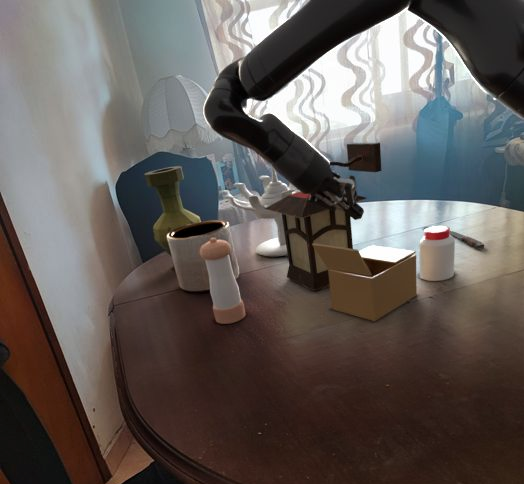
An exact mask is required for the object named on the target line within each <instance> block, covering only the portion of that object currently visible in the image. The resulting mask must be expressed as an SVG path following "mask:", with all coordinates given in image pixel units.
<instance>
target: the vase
mask: <svg viewBox="0 0 524 484" xmlns="http://www.w3.org/2000/svg"><path fill="white" fill-rule="evenodd" d="M144 179H145V181H146V186H147V187H149V188H150V187H151V188H152V187H153V188H154V190H155V192H156V195H157V196H158V197H159V201H160V204H161V208H162V212H163V213H161V215H160V217H159V218H158V219H157V221H156V222H155V223H154V224H153V226H152V232H153V237H154V241H155V242H156V243H157V244H158V245H159V246H160V247H161V248H162V249H163V250H164V251H165V252H166V253H167V254H168V255H169V256H170V257H171V258H172V255H171V251H170V247H169V243H168V240H167V234H168V233H170V232H171V231H173V230H175V229H177V228H180V227H182V226H185V225H189V224H193V223H197V222H202V220H201V216H199V215H197V214H195V213H193V212H192V211H190V210H187V209H185V208H184V206H183V204H182V203H183V202H182V199H181V195H180V181H181V182H182V181H183V180H184V179H185V177H184V171H183V168H182V165H181V166H180V165H177V166H175V165H174V166H169V167H168V166H167V167H164V168H159V169H155V170H152V171H148V172H145V173H144ZM172 263H173V270H174V271H176V270H175V266H174V262H173V261H172Z"/></svg>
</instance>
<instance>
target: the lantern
mask: <svg viewBox="0 0 524 484" xmlns="http://www.w3.org/2000/svg"><path fill="white" fill-rule="evenodd" d="M381 151H382V150H381V142H350V143H347V144H346V153H347V161H346V162H341V161H329V162H330V167H331V166H333V167H334V166H338V167H339V168H347V169H348V171H352V172H364V173H365V172H366V173H379V172H382V154H381V153H382V152H381ZM310 196H311V194H310V193H309V194H303V193H302V192H301V191H300V192H297V193H294V194H291V195H288V196H287V197H285V198H283V199H281V200H279V201H278V202H276V203H274V204H272V205H270V206H268V207H267V208H265V209H266V210H270V211H274V212H278V213H281V214H282V221H283V227H284V234H285V241H286V248H287V254H288V255H287V259H288V260H287V261H288V266H287V267H288V268H287V274H286V278H287V279H289V280H291V281H293V282H294V283H296V284H299V285H301V286H302V287H305V288H307V289H309V290H311V291H312V292H318V291H321V290H323V289H326V288H328V287H329V288H330V283H329V274H328V270H329V269H331V268H327V267H326V265H325V263H324V262H323V260H322V259H321V257H320V256H319V254H318V253H317V251H316V250H315V248H314V247H313V245H312V244H313V243H315V244H322V245H329V246H336V247H342V248H349V249H354V245H353V234H352V233H353V232H352V217H350V216H349V215H348V214H347V213H346V212H344V211H340V210H338V209H336V211H332V210H329V209H326V208H323V207H321V206H318V205H315V204H312V203H310V202H309V201H308V200H309V198H310ZM367 199H369V197H366V196H362V195H357V197H356V199H355V202H356V203H358V202H361V201H364V200H367Z"/></svg>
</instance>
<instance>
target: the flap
mask: <svg viewBox="0 0 524 484" xmlns="http://www.w3.org/2000/svg"><path fill="white" fill-rule="evenodd" d="M312 245H313V247H314V248H315V250H316V251H317V253H318V254H319V256H320V257H321V259H322V260H323V262H324V263H325V265H326V267H327V268H332V269H337V270H342V271H347V272H352V273H357V274H362V275H367V276H371V275H372V274H371V272H370V270H369V269H368V267H367V265H366V263H365V262H364V260H363V258H362V256H361V255H360V253H359V251H360V250H359V249H357V248H356V249H355V248H353V249H349V248H342V247H336V246H329V245H322V244H315V243H313V244H312Z"/></svg>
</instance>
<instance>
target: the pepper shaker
mask: <svg viewBox="0 0 524 484" xmlns="http://www.w3.org/2000/svg"><path fill="white" fill-rule="evenodd" d="M230 252H231V246H230V244H229V243H228V242H227V241H224V240H217V239H216V238H211V239H210V241H209V242H207V243H205V244H204V245H203V246H202V247H201V249H200V255H201V257H202V258H203V259H205V261H206V265H207V270H208V274H209V282H210V291H209V294H210V296H211V300H212V303H213V305H212V310H213V311H212V312H213V315H214V319H215V322H216V323H217V324H223V325H227V324H234V323H237V322H239V321H241V320H243V319H244V318H245V317H246V309H245V305H244V301H243V299H242V298H241V293H240V292H241V291H240V287H239V284H238V282H237V279H235V277H234V274H233V271H232V266H231V262H230V257H229V254H230Z"/></svg>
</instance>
